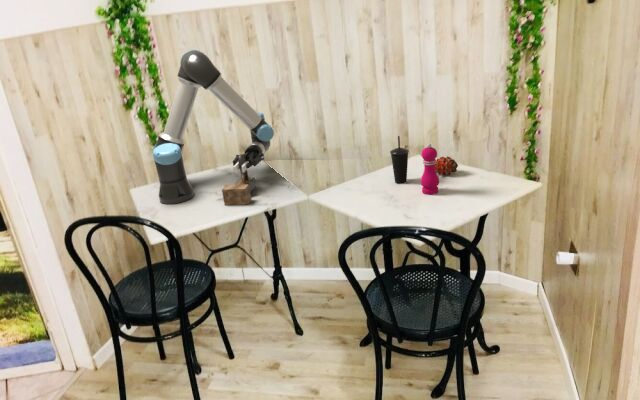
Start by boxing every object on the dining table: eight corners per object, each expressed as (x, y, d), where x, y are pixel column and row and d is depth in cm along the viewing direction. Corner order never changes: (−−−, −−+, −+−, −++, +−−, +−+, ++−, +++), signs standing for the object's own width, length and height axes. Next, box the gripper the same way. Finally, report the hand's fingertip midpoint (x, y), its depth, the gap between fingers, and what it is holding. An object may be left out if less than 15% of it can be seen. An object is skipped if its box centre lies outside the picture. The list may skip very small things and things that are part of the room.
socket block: (224, 205, 218) (221, 189, 215) (228, 200, 222) (225, 185, 220) (247, 204, 216) (244, 188, 213) (251, 199, 220) (248, 184, 218)
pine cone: (460, 179, 221) (432, 181, 226) (460, 162, 226) (432, 165, 231) (456, 167, 215) (427, 171, 220) (456, 151, 219) (428, 154, 224)
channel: (234, 197, 225) (232, 186, 223) (242, 188, 234) (240, 177, 232) (249, 196, 224) (248, 185, 222) (256, 187, 233) (254, 177, 231)
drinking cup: (411, 184, 217) (409, 138, 210) (392, 185, 218) (390, 139, 210) (408, 177, 224) (406, 132, 217) (390, 179, 225) (388, 134, 217)
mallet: (232, 200, 218) (226, 166, 212) (243, 186, 232) (237, 154, 226) (241, 199, 217) (235, 165, 212) (251, 186, 231) (246, 154, 225)
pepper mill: (439, 195, 204) (438, 146, 196) (420, 195, 205) (419, 147, 198) (439, 188, 210) (438, 140, 203) (421, 188, 212) (419, 141, 204)
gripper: (272, 159, 242) (258, 177, 221) (239, 160, 245) (222, 178, 224) (270, 143, 239) (255, 160, 218) (236, 145, 242) (219, 162, 221)
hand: (238, 169), depth 221 cm, fingers closed on mallet, 3 cm apart
